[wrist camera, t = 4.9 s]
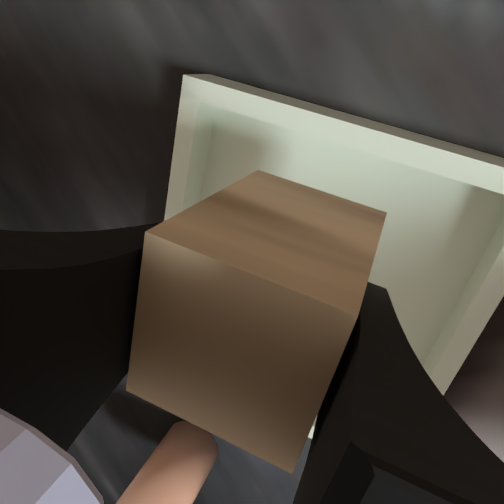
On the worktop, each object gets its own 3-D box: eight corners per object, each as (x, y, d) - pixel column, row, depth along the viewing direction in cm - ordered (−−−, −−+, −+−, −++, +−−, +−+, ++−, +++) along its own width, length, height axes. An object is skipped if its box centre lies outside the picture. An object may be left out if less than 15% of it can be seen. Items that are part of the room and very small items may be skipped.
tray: (551, 171, 15) (569, 186, 13) (396, 442, 22) (393, 477, 20) (208, 73, 18) (183, 74, 16) (167, 337, 25) (145, 359, 23)
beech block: (342, 324, 14) (292, 474, 9) (232, 279, 15) (126, 390, 9) (387, 212, 12) (357, 315, 7) (257, 169, 13) (145, 231, 8)
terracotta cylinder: (223, 437, 26) (173, 527, 21) (213, 472, 28) (164, 564, 23) (173, 412, 27) (113, 492, 22) (166, 448, 29) (109, 530, 24)
